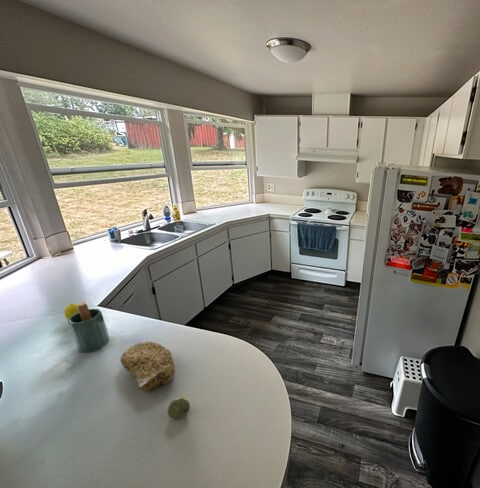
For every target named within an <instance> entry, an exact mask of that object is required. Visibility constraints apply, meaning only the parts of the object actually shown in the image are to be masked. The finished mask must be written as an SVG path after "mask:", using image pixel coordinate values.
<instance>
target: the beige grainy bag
mask: <svg viewBox="0 0 480 488" xmlns="http://www.w3.org/2000/svg"><path fill="white" fill-rule="evenodd" d="M120 363H121V366H122V367H123V368H124V369H125V370H126V371H127V372H129V373H130V374H131V375H133V377H135V382H136V386H137V388H139V390H140V391H146V392H147V391H150V390H151V389H155V388H157V387H160V385H165V384H170V383H171V381H172V380H173V377H174V375H175V373H176V365H175V363H174V359H173V356H172V353H171V350H169V349H167V348H165V346H163V345H161V344H160V343H158V342H153V341H144V342H138V343H135V344H134V345H131V346H130V347H129V348H128V349H126V350H125V351H124V352H123V353H122V355H120Z"/></svg>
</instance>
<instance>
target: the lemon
mask: <svg viewBox="0 0 480 488" xmlns="http://www.w3.org/2000/svg"><path fill="white" fill-rule="evenodd" d="M78 304H79V303H70V304H68V305H67V306H66V307H65V308H64V312H63V313H64V317H65V319H66V320H68V319H69V318H70V317H71V316H73V315H74V314H76V313H79V311H78V308H77V305H78Z"/></svg>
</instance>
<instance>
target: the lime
mask: <svg viewBox="0 0 480 488" xmlns="http://www.w3.org/2000/svg"><path fill="white" fill-rule="evenodd" d="M190 407H191V405H190V401H189V400H188V399H187V398H186V397H184V396H180V397H175V398H174V399H173V400H172V401H171V402H170V403H169V405H168V408H167V415H168V417H169V418H170V419H172V420H175V421H176V420H179V419H182V418H183V417H185V416H186V415H187V414H188V413H189V412H190Z"/></svg>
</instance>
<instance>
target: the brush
mask: <svg viewBox="0 0 480 488" xmlns="http://www.w3.org/2000/svg"><path fill="white" fill-rule="evenodd" d="M77 304H78V305H77V308H78V311H79V313H80V316H81V319H82V322H84V321H87V320H90V319H92V318H91V315H90V312H89V306H88V304H87V302H85V301H84V302H80V303H77Z"/></svg>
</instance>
